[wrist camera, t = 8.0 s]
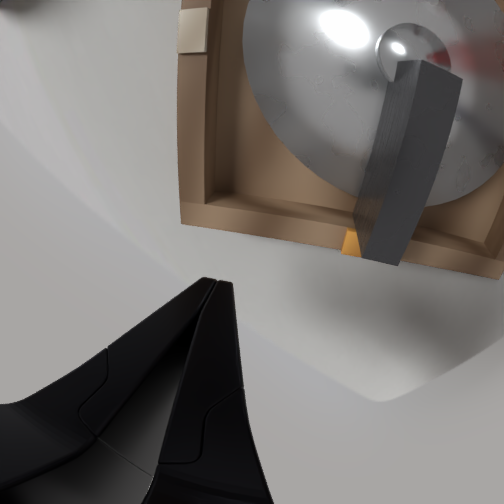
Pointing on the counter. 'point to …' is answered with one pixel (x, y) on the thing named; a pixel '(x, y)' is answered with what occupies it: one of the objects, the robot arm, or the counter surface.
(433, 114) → the dial
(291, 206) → the wooden tray
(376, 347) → the counter surface
